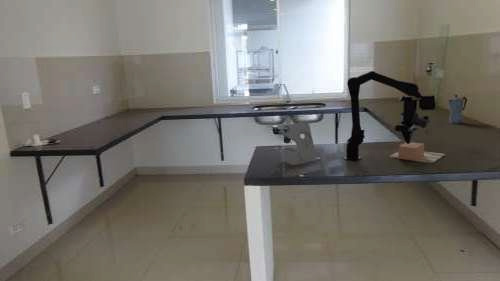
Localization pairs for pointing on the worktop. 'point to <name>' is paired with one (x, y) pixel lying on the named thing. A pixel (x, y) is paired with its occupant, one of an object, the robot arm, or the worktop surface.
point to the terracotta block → (411, 151)
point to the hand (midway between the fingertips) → (408, 143)
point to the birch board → (424, 157)
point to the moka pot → (456, 109)
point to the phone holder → (299, 144)
